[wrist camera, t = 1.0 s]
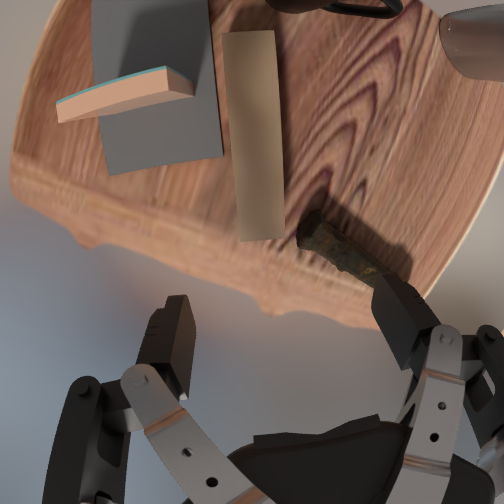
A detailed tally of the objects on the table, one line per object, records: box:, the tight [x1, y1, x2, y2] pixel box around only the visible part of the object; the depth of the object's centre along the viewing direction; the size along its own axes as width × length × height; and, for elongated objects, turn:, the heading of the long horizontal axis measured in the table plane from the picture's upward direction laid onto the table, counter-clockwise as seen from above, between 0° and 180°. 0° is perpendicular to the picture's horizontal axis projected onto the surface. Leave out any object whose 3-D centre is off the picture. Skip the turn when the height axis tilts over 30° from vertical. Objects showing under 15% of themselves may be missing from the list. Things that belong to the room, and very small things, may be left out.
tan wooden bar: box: [222, 30, 285, 242], centre depth 23 cm, size 4×18×5 cm, turn 4°
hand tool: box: [296, 209, 391, 288], centre depth 31 cm, size 19×4×5 cm, turn 54°
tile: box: [56, 66, 194, 123], centre depth 18 cm, size 8×2×10 cm, turn 95°
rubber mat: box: [91, 0, 223, 176], centre depth 20 cm, size 12×22×1 cm, turn 5°
